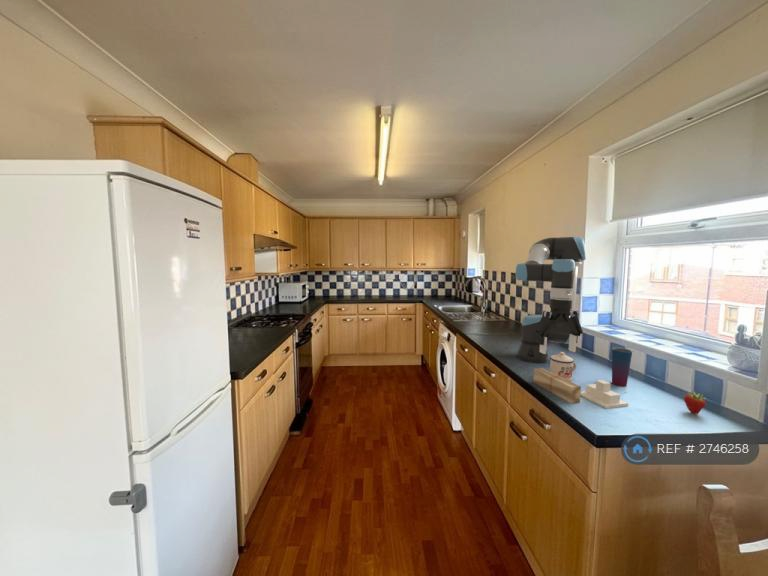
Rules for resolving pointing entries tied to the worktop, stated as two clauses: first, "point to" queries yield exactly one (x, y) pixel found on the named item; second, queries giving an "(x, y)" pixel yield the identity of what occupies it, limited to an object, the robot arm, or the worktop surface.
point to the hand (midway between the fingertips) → (557, 352)
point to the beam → (557, 385)
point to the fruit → (694, 402)
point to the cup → (620, 366)
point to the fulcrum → (603, 395)
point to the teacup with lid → (562, 365)
